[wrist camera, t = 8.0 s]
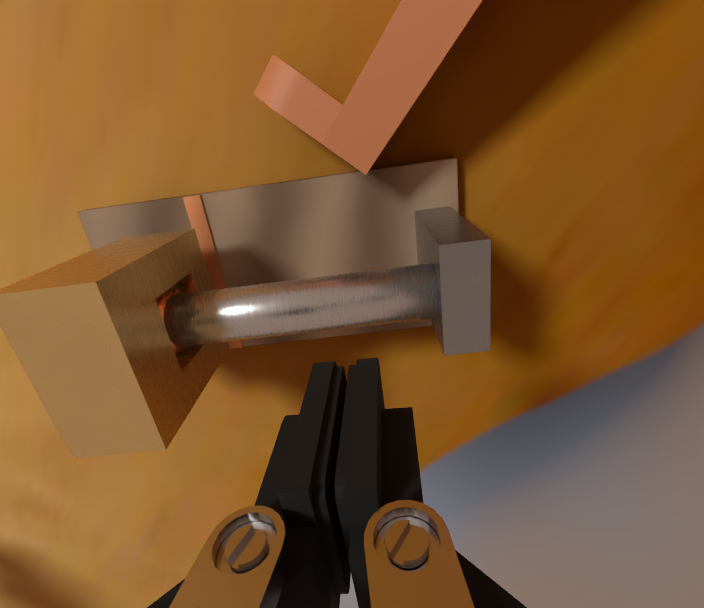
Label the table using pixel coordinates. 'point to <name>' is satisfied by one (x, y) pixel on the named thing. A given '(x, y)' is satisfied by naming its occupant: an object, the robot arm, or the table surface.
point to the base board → (296, 228)
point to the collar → (112, 343)
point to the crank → (371, 82)
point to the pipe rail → (356, 296)
